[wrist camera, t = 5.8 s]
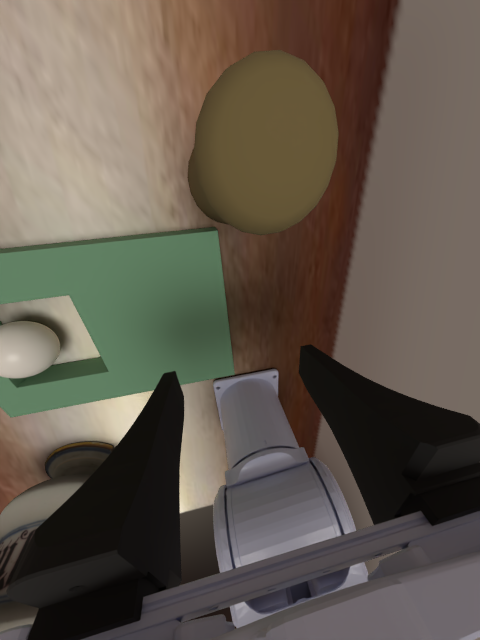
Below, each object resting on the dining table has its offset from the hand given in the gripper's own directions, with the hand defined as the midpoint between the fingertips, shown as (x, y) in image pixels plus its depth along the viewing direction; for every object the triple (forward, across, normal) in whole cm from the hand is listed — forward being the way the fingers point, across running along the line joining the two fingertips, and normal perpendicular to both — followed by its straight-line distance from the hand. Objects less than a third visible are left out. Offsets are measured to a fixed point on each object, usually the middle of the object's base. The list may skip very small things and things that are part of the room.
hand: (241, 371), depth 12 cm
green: (+10, +10, 0) cm, 14 cm away
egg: (+8, +16, 0) cm, 18 cm away
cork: (+10, -2, -10) cm, 14 cm away
